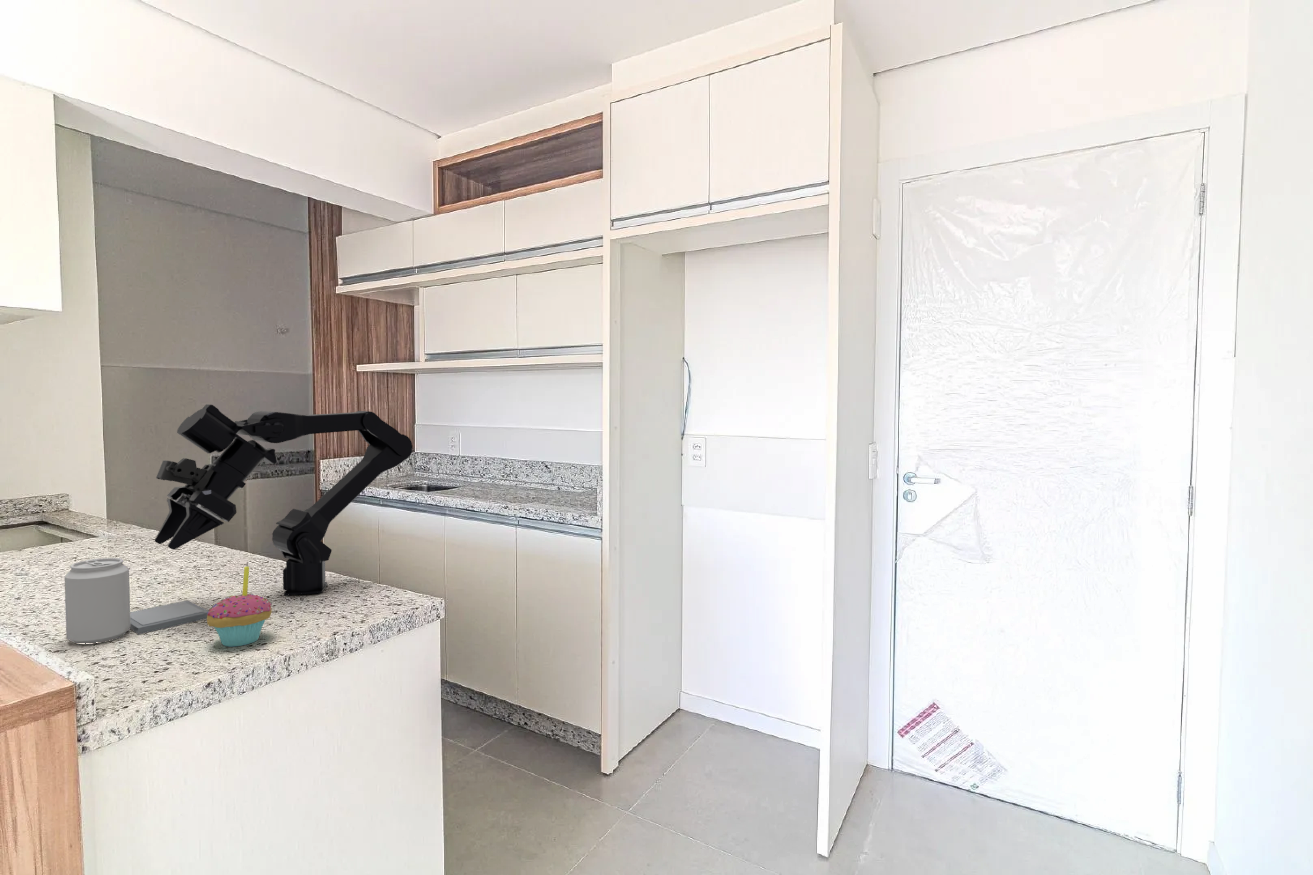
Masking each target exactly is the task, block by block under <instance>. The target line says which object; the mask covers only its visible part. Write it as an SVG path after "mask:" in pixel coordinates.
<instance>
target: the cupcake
mask: <svg viewBox="0 0 1313 875" xmlns="http://www.w3.org/2000/svg"><path fill="white" fill-rule="evenodd" d="M249 576H250V566H249V561H248V560H247V561H246V566H244V568H243V580H242V593H241V594H239V595H233V594H232V595H229V596H227V597H225V598H224V599H223V598H222V599H221V600H220V601H219V602H216V604H214V605H212V607H211V608H209V609H208V611H209V612H208V615H207V619H206V622H207V623H206V624H207V626H208V627H213V628H214V629H215V630H216V631H215V632H216V633H217V635H218V637H219V639H220V642H221V644H222V645H223V646H224V647H230V648H231V647H241V646H245V645H250V644H252V643H255V642H257V641H258V640H259V639H260V638H259V637H260V634H261V631H262V629H263V626H264V624H265V621H267V620H268V619H270V617H271V616H272V613H273V608H272V604H273V603H272V602H271V601H269V600H268V598H267V597H264V596H262V595H258V594H256V595H255V594H252V593H249V592H248V590H249V589H248V588H249Z"/></svg>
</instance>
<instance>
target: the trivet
mask: <svg viewBox="0 0 1313 875" xmlns="http://www.w3.org/2000/svg"><path fill="white" fill-rule="evenodd" d="M209 611H210V610H209V609H207V608H204V607H202V606H200V605H198V604H196V603H194V602H193V601H190V600H188V599H187V600H182V601H178V602H174V603H173V602H172V603H168V604H167V603H166V604H162V605H157V606H153V607H149V608H143V609H139V610H138V609H137V610H134V611H133V610H132V611H130V624H131V627H130V629H129V630H131V631H132V632H134V633H136V634H137V635H141V634H146V633H151V632H155V631H159V630H164V629H167V628H171V627H176V626H180V625H181V626H182V625H185V624H189V623H193V622H197V621H202V620H207V615H208V612H209Z"/></svg>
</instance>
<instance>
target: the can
mask: <svg viewBox="0 0 1313 875" xmlns="http://www.w3.org/2000/svg"><path fill="white" fill-rule="evenodd" d="M123 562H124V559H123V558H121V557H101V558H99V557H98V558H91V559H85V560H79V561H76V562H74V563H72V564H71V565H69V568H70V570H69V571H68V572H67V573H66V574H65V575H64V600H65V601H64V602H65V603H64V604H65V605H64V606H65V607H64V608H65V609H64V610H65V632H66V633H65V634H66V636H65V637H66V639H67V640H68V641H70V642H72V643H74V642H75V643H85V644H86V643H96V642H103V643H106V642H105V641H108V642H110V641H109V640H111V641H113V640H112V639H114V640H116V638H117V639H119V638H121V637H124V635H125V634H126V633H127V632H128V631H129V630H131V629H130V627H131V624H130V612H131V599H130V598H131V596H130V593H131V592H130V588H131V587H130V567H129V566H127V565H125V564H124V563H123ZM75 643H74V644H75Z"/></svg>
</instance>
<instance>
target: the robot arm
mask: <svg viewBox="0 0 1313 875" xmlns="http://www.w3.org/2000/svg"><path fill="white" fill-rule="evenodd" d="M352 431H353V432H354V431H355V432H356V431H357V432H358V433H359V434H360V435H361V437H362V439H363V440H364V441H365V442H366V444H368V446H366V449H365V452H364V455H363V458H362V459H361V460H360V461H359V462H358V463H356V464H355V466H354V467H353V468H352V469H350V470H349V471H348V472H347V473H346V474H345V475H344V476H343V477H342V478H340V480H338V482H336V483H335V484H334V485H333V486H332V487H331V488H330V489H329V490H328V491H327V492H325V494H324V495H323V496H321V497H320V498H319V499H318V500H317V501H316V502H315V503H314V504H312V505H311V506H310V507H309V508H308V509H304V510H301V509H297V508H292V509H291V510H290V511H289V512H288V513H287V514H286V516H285V517H284V518H282V519H281V520H279V521H277V522H275V524H276V525H277V526H276V527H275V529H273V531H272V533H271V535H272V536H271V537H272V538H271V540H272V544H273V546H274V548H276V549H277V550H279V551H280V553H281V555H282V557H283V558H285V559H287V560H286V561H285V567H284V568H283V570H282V588H283V591H284V592H283V596H297V595H299V596H300V595H301V596H302V595H312V594H313V595H314V594H322V593H323V591H324V590H325V589H326V587H327V586H328V581H326V562H327V561H329V559H330V557H331V554H332V549H331V547H329V546H328V545H326V544H325V543H324V542H322V541H323V540H324V538H325V536H326V534H327V531H328V529H329V526H330V524H331V523H332V521H333V520H334V519H335V518H336V517H338V515H340V513H341V512H342V511H344V510H345V508H347V507H348V506H349V505H350V504H351V503H352V502H353V501H354V500H355V499H356V498H357V497H359V495H360V494H361V493H362V492H363V491H364V490H365V489H367V487H369V486H370V485H371V483H373V482H374V481H375V480H376V479H377V478H378V477H379V476H380V475H382V473H384V472H387V471H389V470H391V469H393V468H395V467H398V466H399V465H400V464H402V463H403V462H404V461H406V460H408V459H409V458H410V457H411V455H412V454H413V442H412V441H411V438H410V437H409V436H408V435H405V434H402V433H401V432H400V431H399V430H397V429H396V428H395V427H393V426H392V425H390V424H389V423H387V422H386V421H384V420H383V419H382V418H380V416H379V415H377V414H376V413H375V412H373V411H370V410H369V411H368V410H357V411H355V412H354V411H352V412H351V411H350V412H339V413H336V412H335V413H334V412H333V413H320V414H319V413H317V414H316V413H315V414H314V413H313V414H295V413H289V412H288V413H287V412H280V411H266V410H265V411H264V410H259V411H256V412H255V411H254V412H253V413H251V415H250V416H249V417H248V418H246V419H242V420H238V421H237V420H232V419H231V418H229V417H228V416H226V415H225V414H224V413H222V412H221V411H220V410H219V408H218V407H216V406H215V405H214V404H209V403H207V404H205V405H204V406H203V407H201V409H199V410H197V411H196V412H194V413H193V414H192V415H190V416H187V417H186V418H185V419H184V420H183V421H182V422H181V423H180V425H179V426H178V428H177V430H176V434H178V435H180V436H181V437H182V438H184V439H186V440H187V441H188V442H190V443H191V444H193V445H194V446H195V447H197V448H199V449H200V450H202V451H203V452H205V453H206V454H212V453H214V452H216V453H217V454H218V453H221V454H219V456H217V458H216V459H215V460H214V461H213V462H212V463H209V464H208V463H207V464H204V466H202V468H201V467H197V461H196V460H195V459H189V458H185V457H183V458H182V459H180V460H179V461H178V462H176V461H171V460H162V463H161V465H160V467H159V469H158V472H157V474H156V477H155V478H156V480H162V481H169V482H176V483H180V484H184V485H182V486H174V487H173V488H172V490H170V492H168V493H167V495H166V497H168V498H167V499H166V502H167V505H168V509H169V511H168V514H167V515H166V518H165V520H164V522H163V523H162V526H161V527H160V528H159V529H160V530H159V531H158V532H157V534H156V537H155V539H154V542H155V543H156V544H158V545H162V544H163V543H165V542H167V541H169V540H170V541H169V542H168V544H167V547H168V548H169V549H171V550H177V549H179V548H180V547H182V546H184V545H185V544H187V543H189V542H192V541H193V540H195V539H196V538H198V537H200V536H202V535H205V534H206V533H209V531H212V530H213V529H216V528H217V527H219V526H222V525H224V524H225V523H224V522H228V523H229V522H230V521H231V520H232V519H233V518H234V517H235V515H236V514H237V506H236V504H235V503H233V502H232V501H230V500H229V499H231V497H232V496H233V495H234V494H235V493H236V491H237V490H238V489H243V488H244V487H245V485H247V483H245V481H247V478H249V476H251V474H252V473H253V472H254V471H255V469H256V468H257V467H258V466H259V465H260V464H261V462H262V461H263V462H265V463H267V464H272V465H275V464H277V456H276V449H275V448H271V447H270V448H269V447H268V448H265V447H264V446H263V445H261V444H260V443H259V442H262V443H269V444H282V443H285V442H288V441H292V440H296V439H299V438H301V437H305V436H308V435H314V434H318V435H319V434H327V433H328V434H329V433H340V432H341V433H343V432H352ZM240 435H242V436H243V435H244V436H248V437H250V438H251V440H246V439H244V438H243V437H241V436H240Z"/></svg>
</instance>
